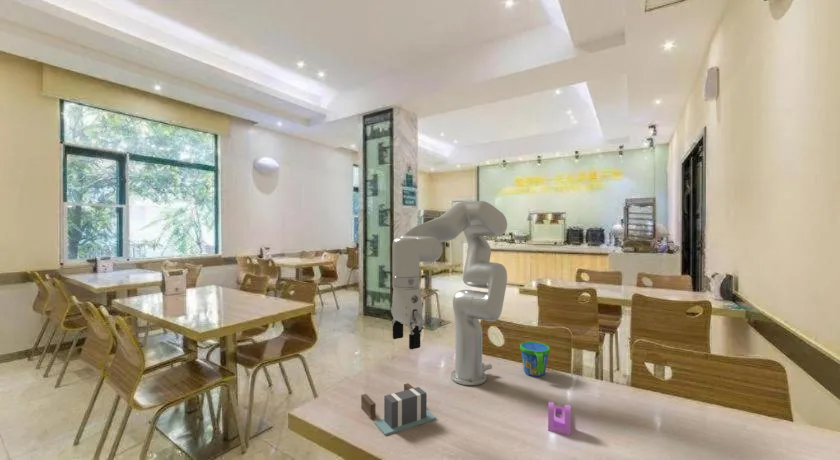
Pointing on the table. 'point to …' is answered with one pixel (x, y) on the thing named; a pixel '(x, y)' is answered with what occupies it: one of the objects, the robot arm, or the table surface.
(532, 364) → the snack cup
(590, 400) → the table surface
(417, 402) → the banded grey block
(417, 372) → the table surface
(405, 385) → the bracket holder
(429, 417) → the rubber mat
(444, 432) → the table surface
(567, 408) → the bracket
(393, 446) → the table surface
